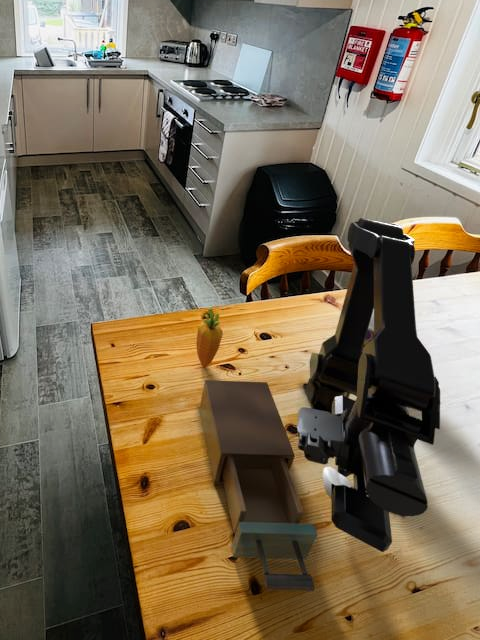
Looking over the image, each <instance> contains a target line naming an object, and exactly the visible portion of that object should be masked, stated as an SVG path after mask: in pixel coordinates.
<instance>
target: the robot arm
mask: <svg viewBox="0 0 480 640" xmlns="http://www.w3.org/2000/svg"><path fill="white" fill-rule="evenodd" d="M348 226H349V227H348V231H347V237H346V239H347V243H348V246H347V247H348V250H349V253H350V256H351V258H352V261H353V267H352V270H351V273H350V278H349V282H348V285H347V289H346V293H345V296H344V300H343V303H342V307H341V311H340V314H339V319H338V321H337V325H336V329H335V333H334V334H333V335H332V336H331V337H328V338H327V339H326V340H324V341H323V342H322V344H321V347H320V350H319V352H311V354H310V358H309V378H308V381H307V382H306V383H303V384H302V388H303V390H304V393H305V395H306V397H307V400H308V402H309V404H310V405H311V407H312V408H310V407H305V406H304V407H300V408H299V410H298V414H297V415H298V416H297V423H296V425H297V426H296V431H297V432H296V433H297V436H298V441H297V442H298V445H297V449H298V450H300V451H302V452H303V455H304V458H305V459H306V460H307V461H309V462H313V463H315V464H321V465H323V466H324V465H327V464H328V463H329V459H334V465H335V466H337V470H336V471H337V472H338V473H340V474H342V475H343V476H345V477H346V478H347V477H349V476H351V475H353V476H352V477H353V487H348V486H346V485H334V484H331V498H330V501H331V506H330V507H331V509H330V511H331V513H330V515H331V516H330V518H331V522H332V524H333V525H334V526H335V528H336V529H338V530H340V531H342V532H343V533H345V534H347V535H349V536H351V537H353V538H354V539H356V540H359V541H360V542H363V543H364V544H366V545H368V546H370V547H372V548H374V549H375V550H377V551H379V552H381V553H384V552H386V551H388V549H389V548H390V546H391V545H392V543H393V537H392V536H393V535H392V528H391V527H392V526H391V518H390V513H391V514H393V515H396V516H402V517H417V516H421V515H422V514H424V513H426V511H427V510H428V509H429V507H428V505H429V504H428V503H429V502H428V497H427V493H426V489H425V485H424V482H423V478H422V474H421V471H420V467H419V463H418V460H417V459H418V458H417V454H416V450H415V445H416V443H417V441H420V442H424V443H426V444H429V445H430V446H431V445H432V446H433V445H434V443H435V435H436V430H441V388H440V386H439V385H440V382H439V381H438V378H437V376H436V375H435V372H434V366H433V362H432V360H433V359H432V356H431V354H430V352H429V351H428V349H427V348H426V347H425V345H424V344H423V343H422V341H421V340H420V339H419V337H418V332H417V323H416V321H417V320H416V307H415V295H414V294H415V293H414V280H413V279H414V278H413V267H412V266H413V263H414V261H415V256H416V248H415V242H416V239H414V238H413V237H411V236H410V235H408V234H406V233H404V229H403V227H402V226H400V225H394V224H391V223H385V222H383V221H382V222H381V221H376V220H372V219H368V218H364V217H363V218H362V217H360V218H359V219H358V220H357V221H354V222H350V224H349V225H348ZM373 310H374V336H373V337H372V339H371V340H370V341H369V342H368V343H367V344H366V346H365V347H364V349H363V353H362V348H363V345H364V341H365V338H366V334H367V331H368V327H369V324H370V320H371V317H372V313H373ZM350 395H353V396H355V397H356V398H355V399H352V398H350ZM408 409H410V410H413V411H416V412H420V413H421V418H418V417H415V416H413V415H410V413H409V410H408Z"/></svg>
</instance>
